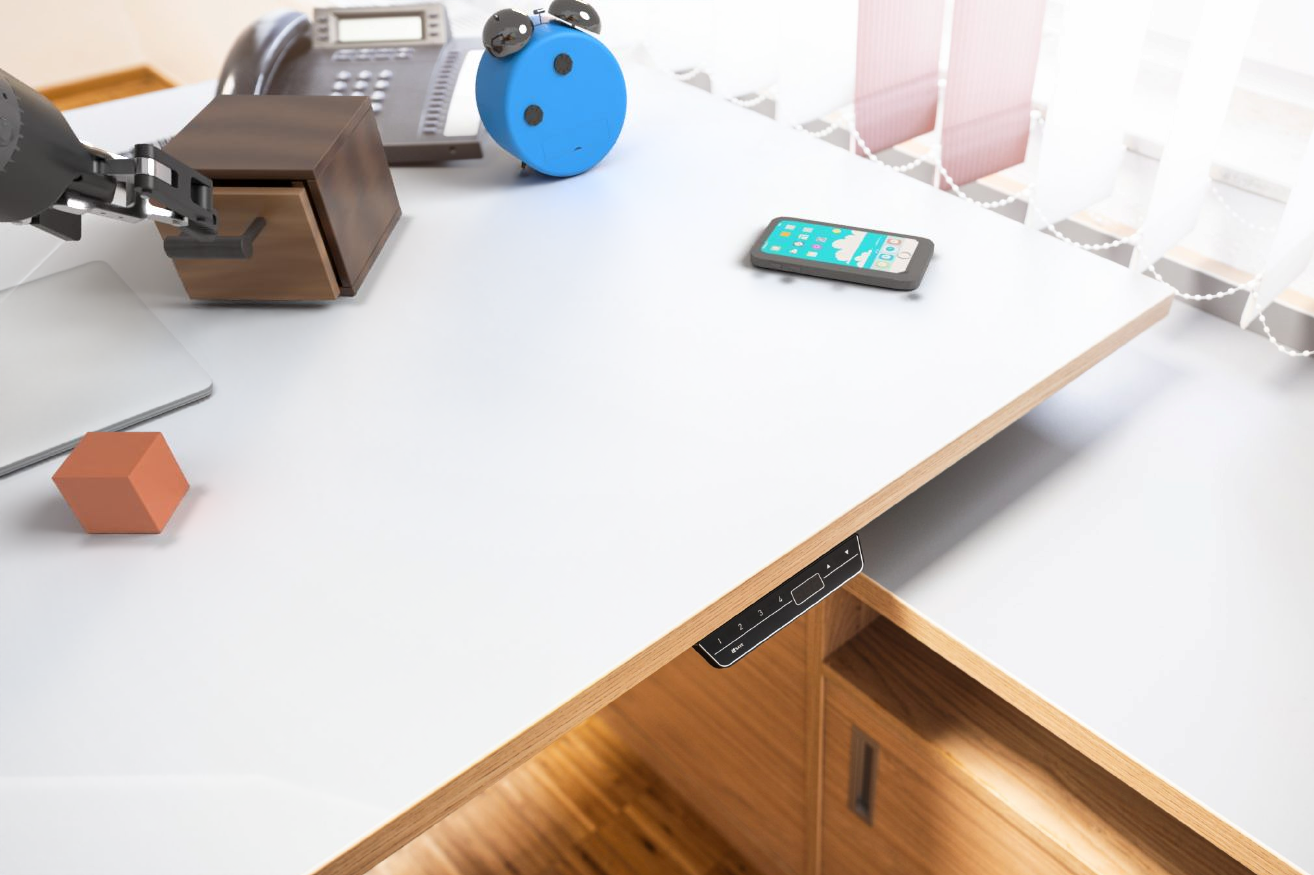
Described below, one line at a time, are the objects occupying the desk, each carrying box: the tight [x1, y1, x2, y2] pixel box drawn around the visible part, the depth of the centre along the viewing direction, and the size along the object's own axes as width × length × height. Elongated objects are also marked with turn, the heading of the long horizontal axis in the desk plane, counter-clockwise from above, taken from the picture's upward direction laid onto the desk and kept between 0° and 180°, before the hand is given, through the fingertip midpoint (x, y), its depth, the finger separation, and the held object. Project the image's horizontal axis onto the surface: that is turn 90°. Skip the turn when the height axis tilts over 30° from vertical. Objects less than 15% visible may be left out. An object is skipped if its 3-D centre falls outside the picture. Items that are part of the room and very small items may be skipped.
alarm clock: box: [474, 0, 628, 177], centre depth 98 cm, size 13×6×15 cm, turn 131°
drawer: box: [148, 179, 340, 301], centre depth 83 cm, size 18×11×9 cm, turn 2°
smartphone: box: [749, 216, 935, 290], centre depth 91 cm, size 9×1×15 cm
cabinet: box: [161, 93, 403, 297], centre depth 87 cm, size 15×13×11 cm
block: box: [51, 431, 190, 534], centre depth 65 cm, size 4×4×4 cm
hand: (142, 226), depth 68 cm, fingers open, 8 cm apart
